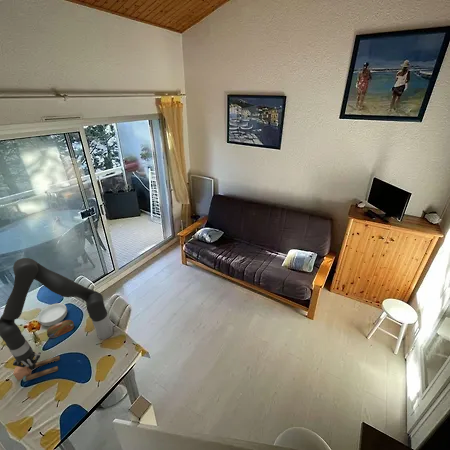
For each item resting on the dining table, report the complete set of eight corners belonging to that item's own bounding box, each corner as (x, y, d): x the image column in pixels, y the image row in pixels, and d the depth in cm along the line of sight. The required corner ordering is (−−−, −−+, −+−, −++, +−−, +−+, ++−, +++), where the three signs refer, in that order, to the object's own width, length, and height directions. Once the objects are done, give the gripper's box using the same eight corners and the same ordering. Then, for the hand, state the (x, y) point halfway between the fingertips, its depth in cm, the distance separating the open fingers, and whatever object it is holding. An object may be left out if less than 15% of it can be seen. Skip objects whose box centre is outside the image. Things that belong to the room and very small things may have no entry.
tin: (49, 340, 156) (45, 331, 152) (49, 336, 158) (44, 328, 154) (75, 328, 164) (72, 320, 160) (75, 325, 166) (71, 317, 162)
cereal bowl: (74, 316, 172) (71, 309, 169) (48, 333, 160) (45, 326, 157) (61, 306, 180) (58, 299, 177) (36, 321, 168) (32, 314, 164)
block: (32, 369, 140) (28, 363, 137) (30, 375, 137) (26, 369, 134) (19, 373, 138) (15, 367, 135) (17, 380, 135) (13, 374, 132)
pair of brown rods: (60, 357, 147) (58, 355, 145) (57, 370, 140) (56, 368, 139) (28, 367, 141) (26, 365, 140) (24, 381, 134) (22, 379, 133)
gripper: (37, 339, 134) (48, 357, 143) (7, 347, 129) (20, 366, 138) (34, 351, 128) (45, 369, 137) (3, 360, 123) (17, 379, 132)
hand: (33, 367), depth 137 cm, fingers closed
